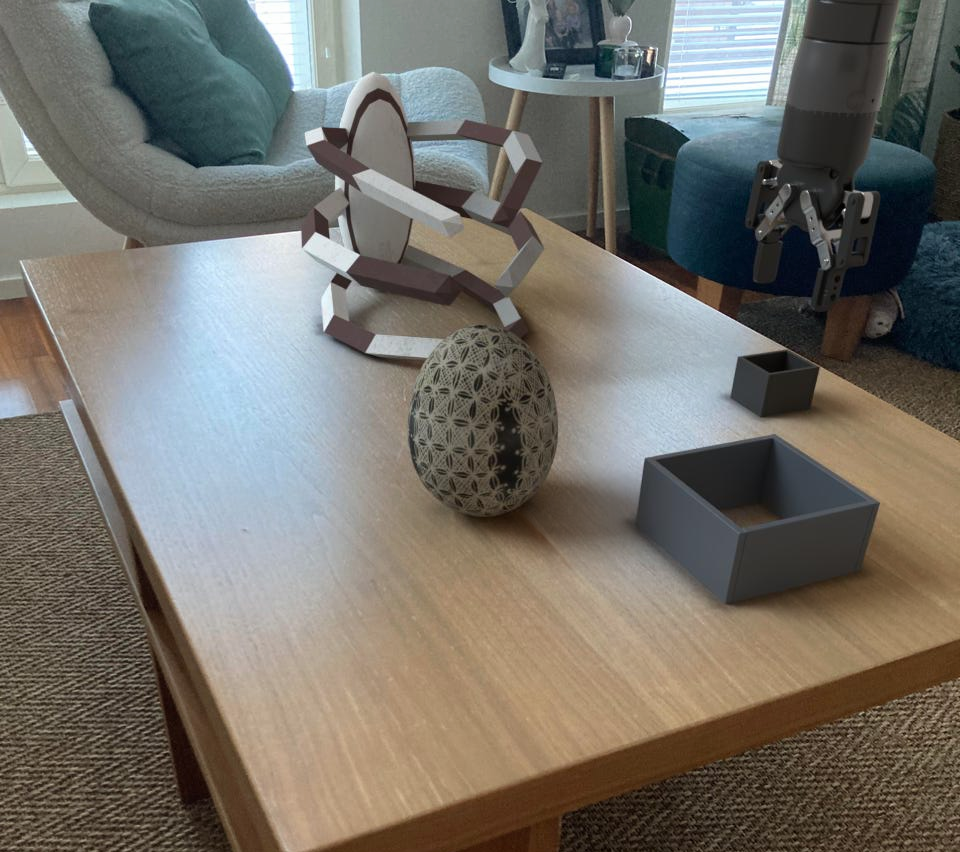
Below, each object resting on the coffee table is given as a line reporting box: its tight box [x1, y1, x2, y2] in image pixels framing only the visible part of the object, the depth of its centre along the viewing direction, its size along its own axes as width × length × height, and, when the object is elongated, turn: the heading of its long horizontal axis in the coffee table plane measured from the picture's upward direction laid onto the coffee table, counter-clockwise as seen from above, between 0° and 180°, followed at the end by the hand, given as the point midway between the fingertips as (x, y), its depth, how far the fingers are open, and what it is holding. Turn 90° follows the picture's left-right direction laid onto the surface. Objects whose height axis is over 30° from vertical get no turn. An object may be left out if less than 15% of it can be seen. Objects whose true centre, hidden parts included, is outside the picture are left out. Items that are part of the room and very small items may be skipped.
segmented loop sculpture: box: [300, 71, 546, 362], centre depth 112 cm, size 24×27×35 cm
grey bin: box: [635, 433, 881, 605], centre depth 78 cm, size 12×12×6 cm
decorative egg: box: [406, 323, 559, 518], centre depth 80 cm, size 12×12×15 cm
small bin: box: [729, 348, 821, 418], centre depth 101 cm, size 6×5×5 cm
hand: (791, 295), depth 95 cm, fingers open, 8 cm apart
